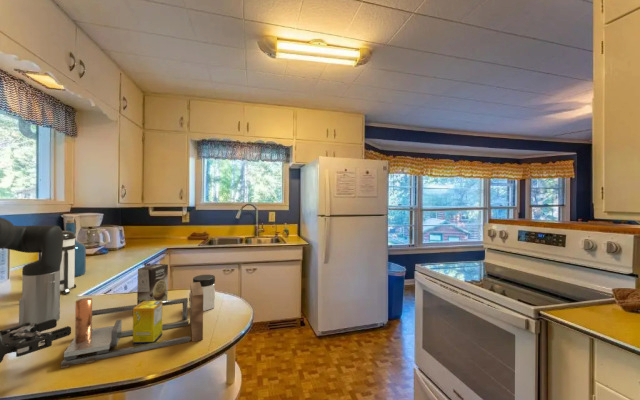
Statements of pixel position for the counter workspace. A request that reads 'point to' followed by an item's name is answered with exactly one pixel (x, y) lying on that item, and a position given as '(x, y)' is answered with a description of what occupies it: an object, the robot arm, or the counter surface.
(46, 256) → the robot arm
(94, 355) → the track
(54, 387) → the counter surface
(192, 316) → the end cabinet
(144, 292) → the coffee box
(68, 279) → the coffee press
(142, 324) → the supplement box
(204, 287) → the jar
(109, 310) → the handrail
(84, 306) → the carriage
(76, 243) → the teal bottle
